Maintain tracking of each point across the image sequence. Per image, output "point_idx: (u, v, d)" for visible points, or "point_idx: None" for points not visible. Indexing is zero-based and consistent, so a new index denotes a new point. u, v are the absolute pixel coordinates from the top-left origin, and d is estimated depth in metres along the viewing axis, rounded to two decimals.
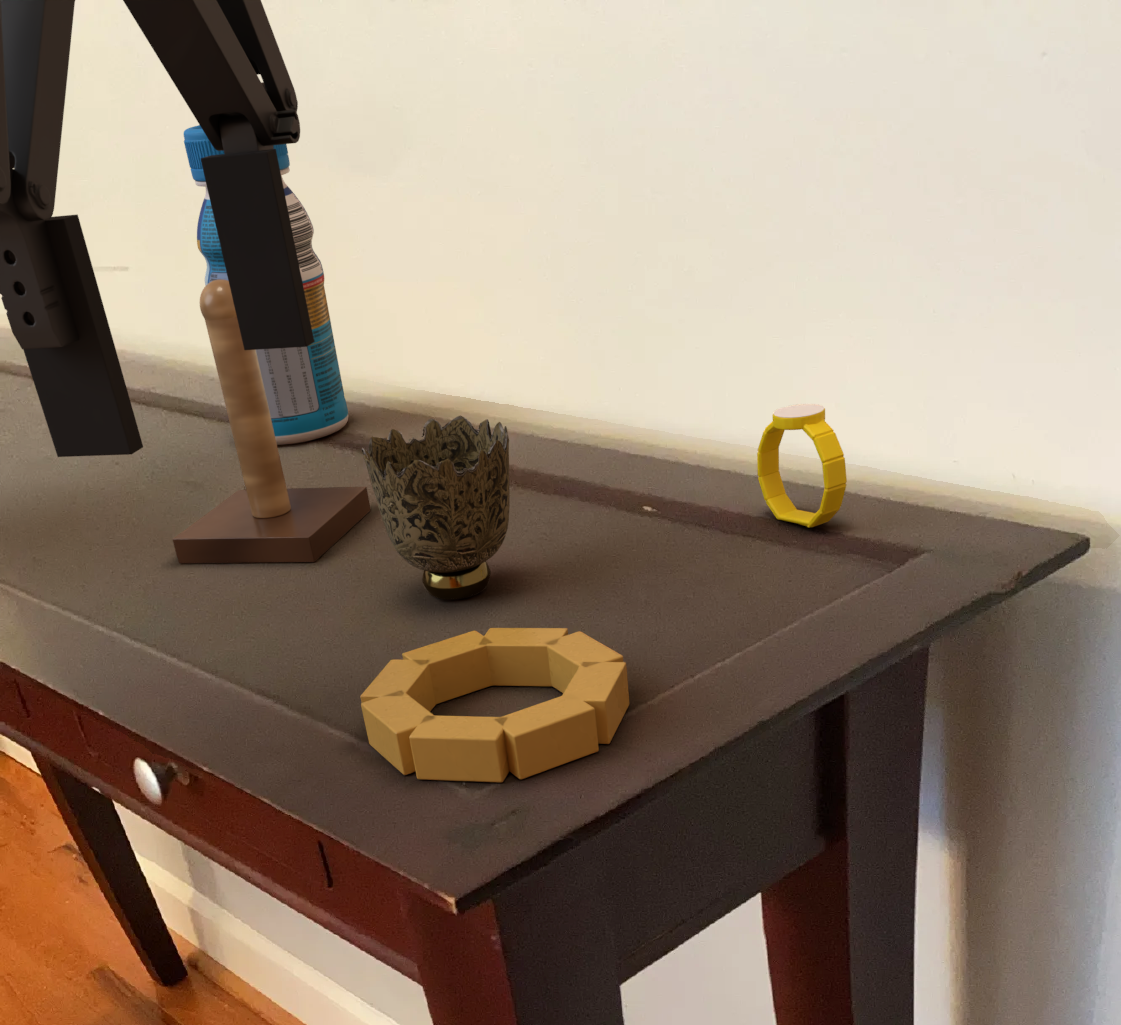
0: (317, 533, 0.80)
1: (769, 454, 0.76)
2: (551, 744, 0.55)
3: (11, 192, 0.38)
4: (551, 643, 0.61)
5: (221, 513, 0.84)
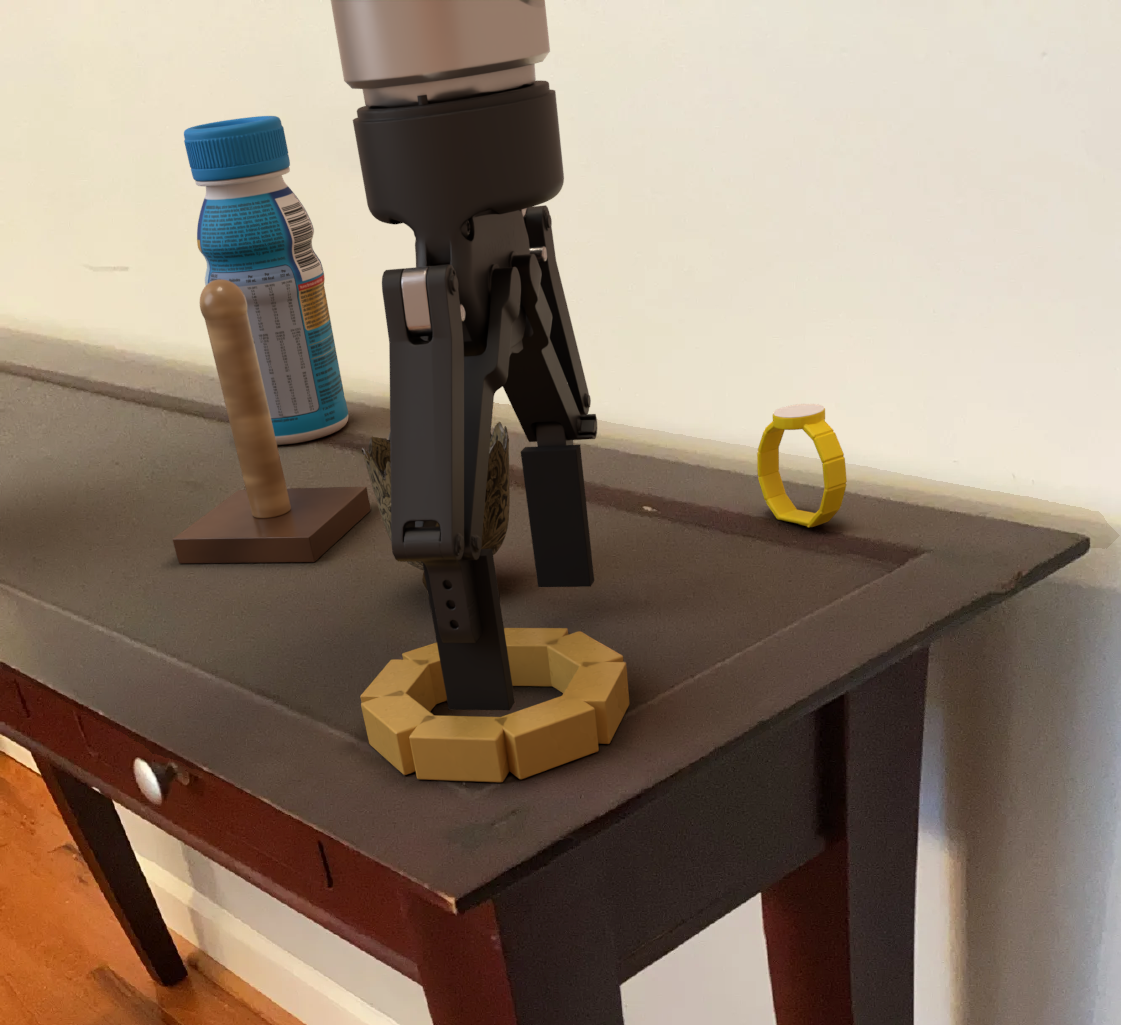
0: (317, 533, 0.80)
1: (769, 454, 0.76)
2: (551, 744, 0.55)
3: None
4: (551, 643, 0.61)
5: (221, 513, 0.84)
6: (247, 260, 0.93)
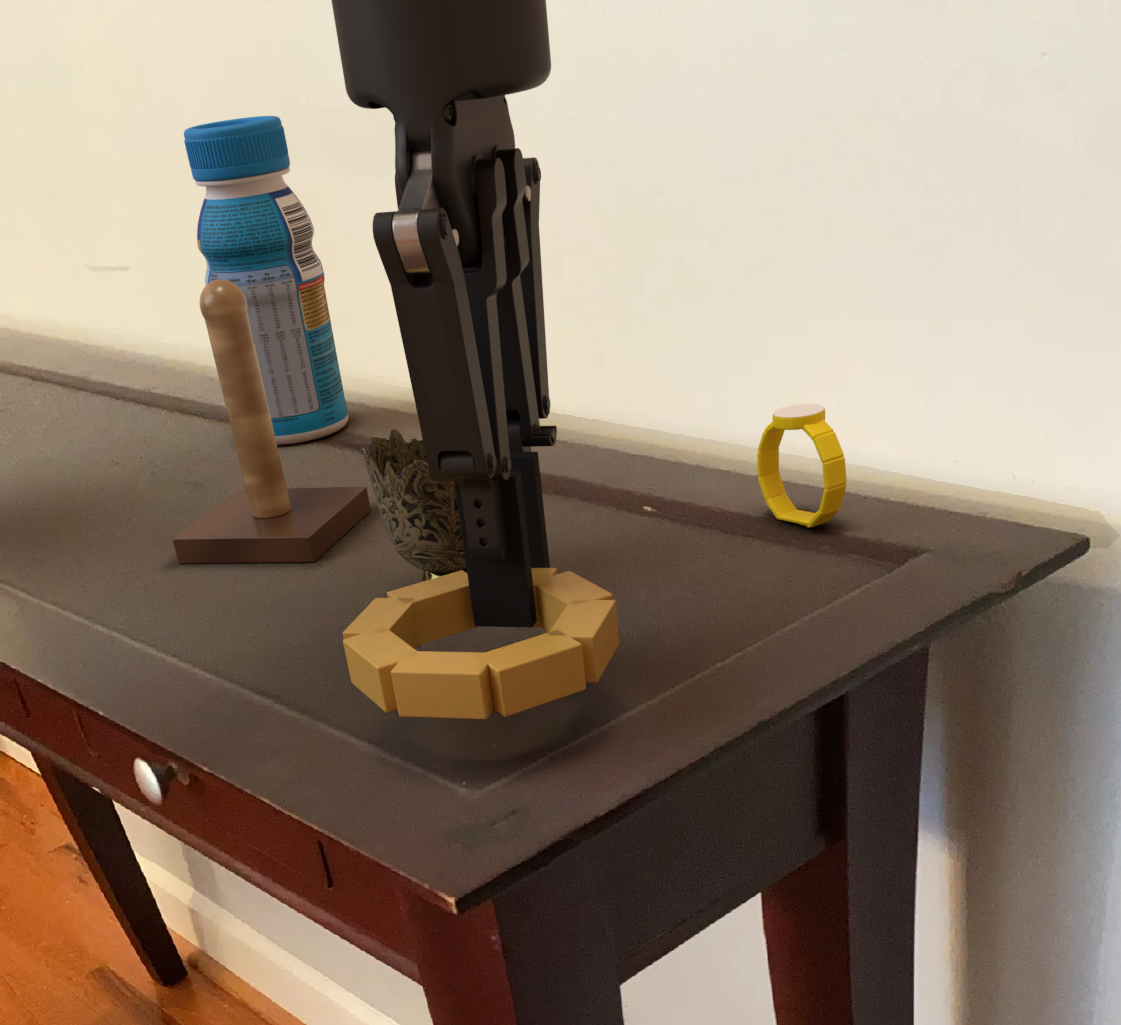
0: (317, 533, 0.80)
1: (769, 454, 0.76)
2: (537, 680, 0.54)
3: None
4: (540, 582, 0.60)
5: (221, 513, 0.84)
6: (247, 260, 0.93)
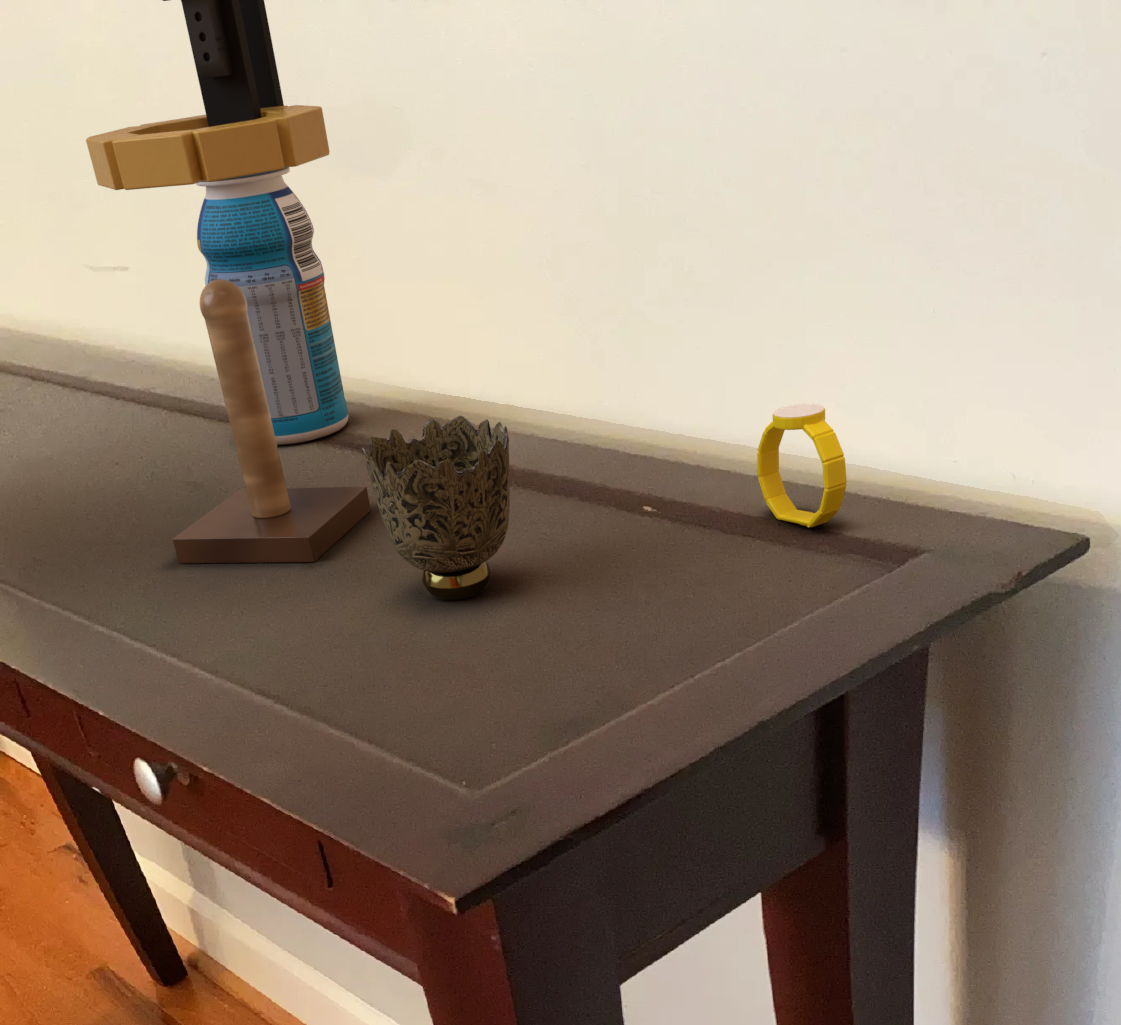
0: (317, 533, 0.80)
1: (769, 454, 0.76)
2: (236, 149, 0.63)
3: None
4: (267, 109, 0.69)
5: (221, 513, 0.84)
6: (247, 260, 0.93)
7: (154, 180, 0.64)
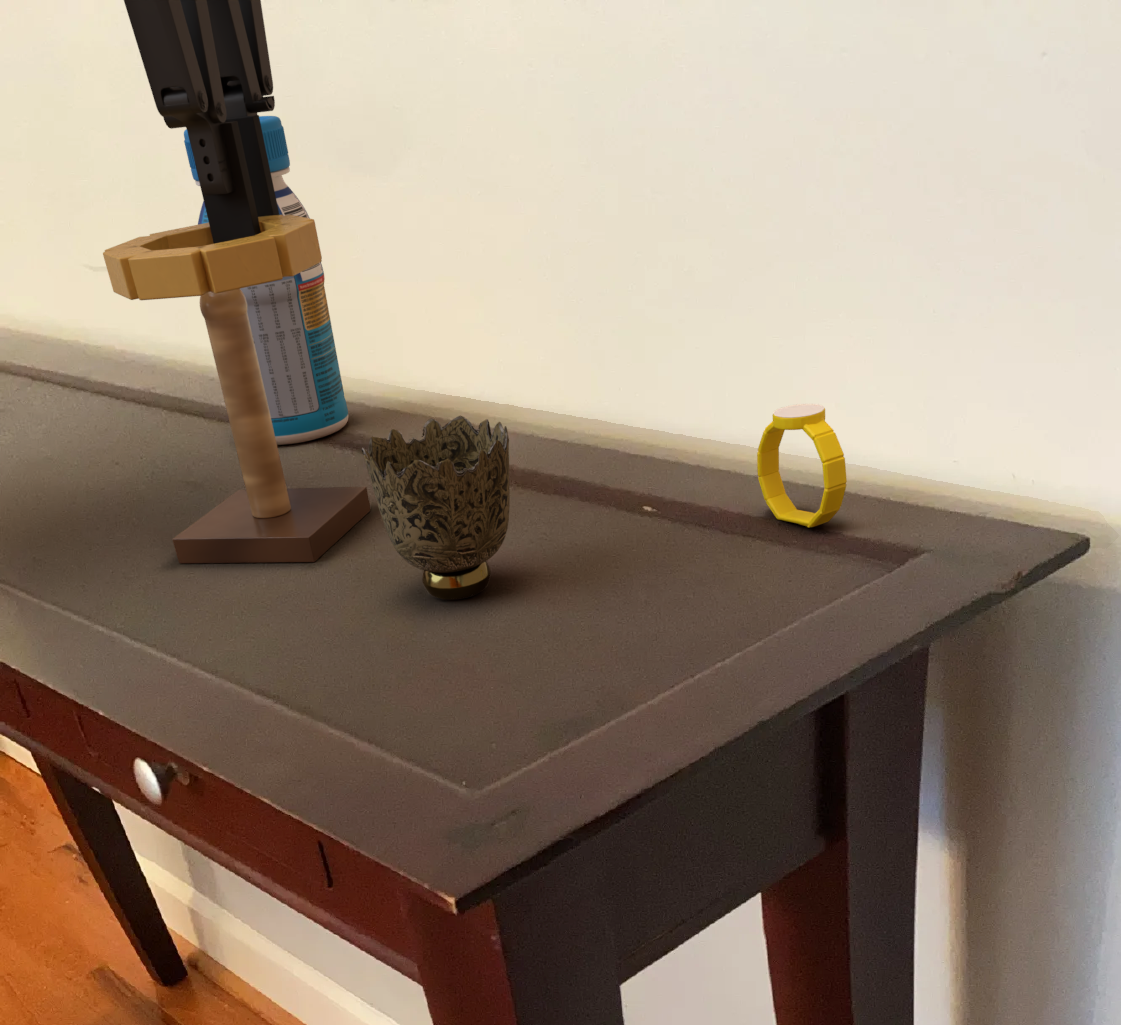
0: (317, 533, 0.80)
1: (769, 454, 0.76)
2: (239, 264, 0.71)
3: (208, 115, 0.72)
4: (265, 220, 0.76)
5: (221, 513, 0.84)
6: None
7: (166, 292, 0.71)
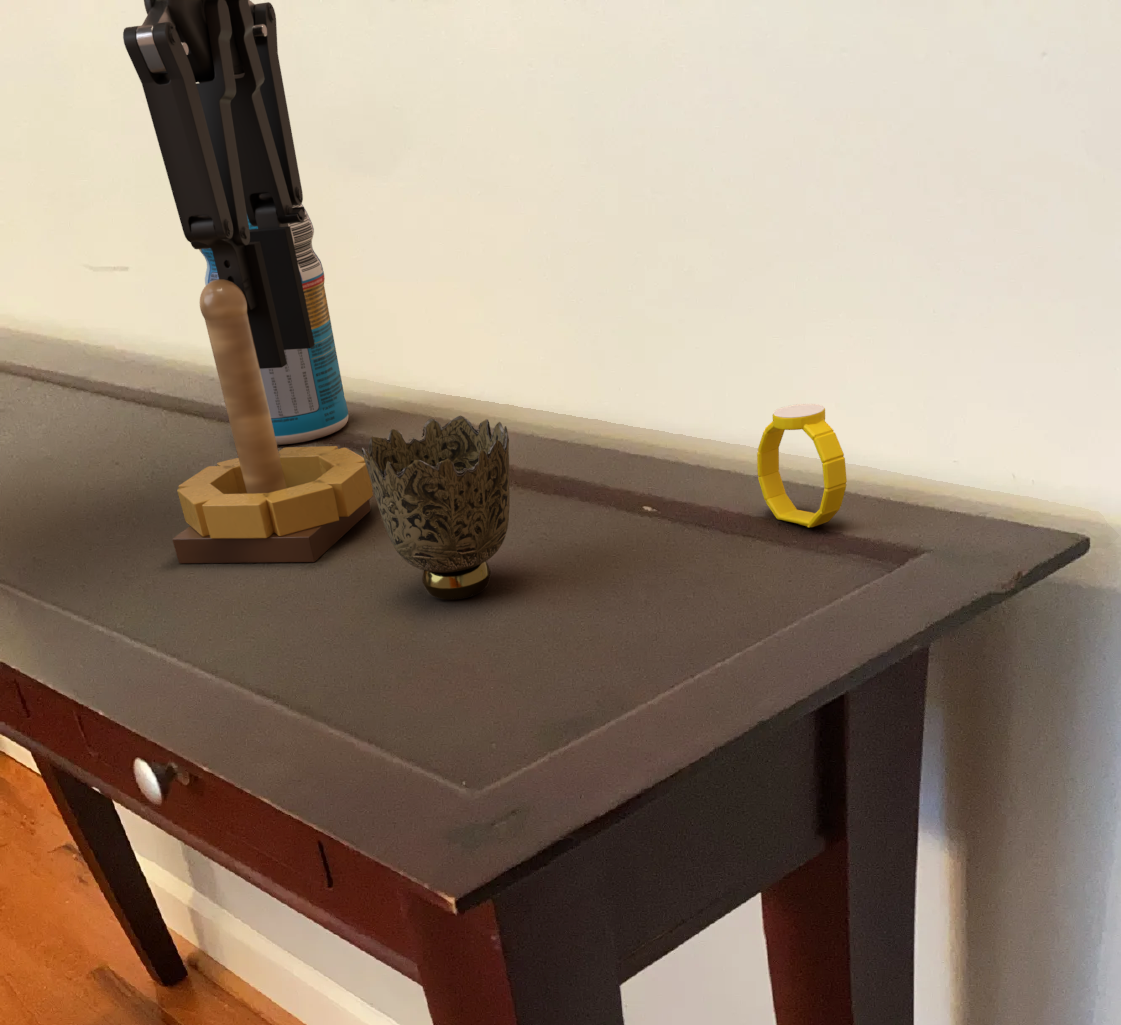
0: (317, 533, 0.80)
1: (769, 454, 0.76)
2: (301, 511, 0.79)
3: (232, 238, 0.75)
4: (322, 454, 0.85)
5: None
6: None
7: (235, 534, 0.79)
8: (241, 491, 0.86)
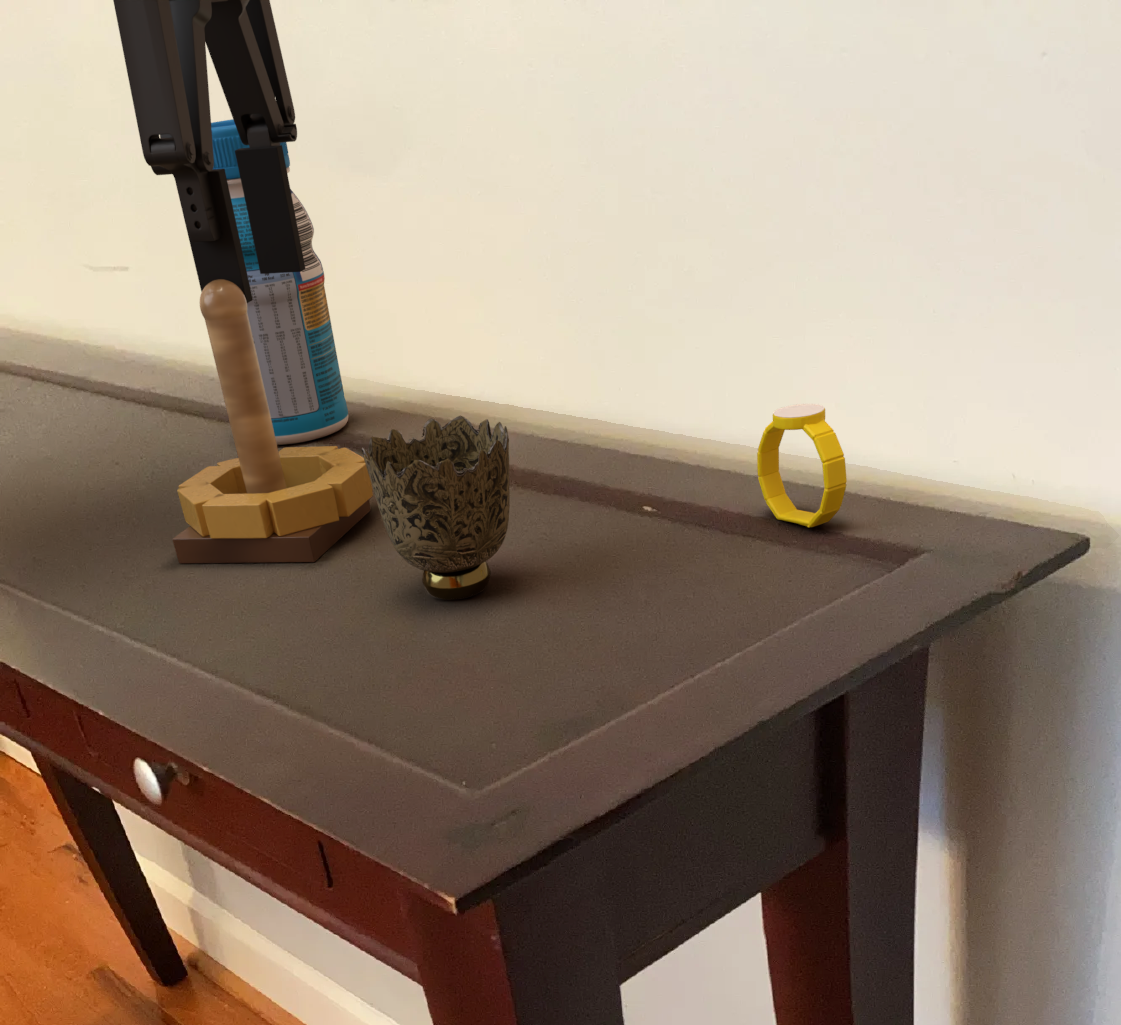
0: (317, 533, 0.80)
1: (769, 454, 0.76)
2: (301, 511, 0.79)
3: (194, 161, 0.72)
4: (322, 454, 0.85)
5: None
6: (247, 260, 0.93)
7: (235, 534, 0.79)
8: (241, 491, 0.86)
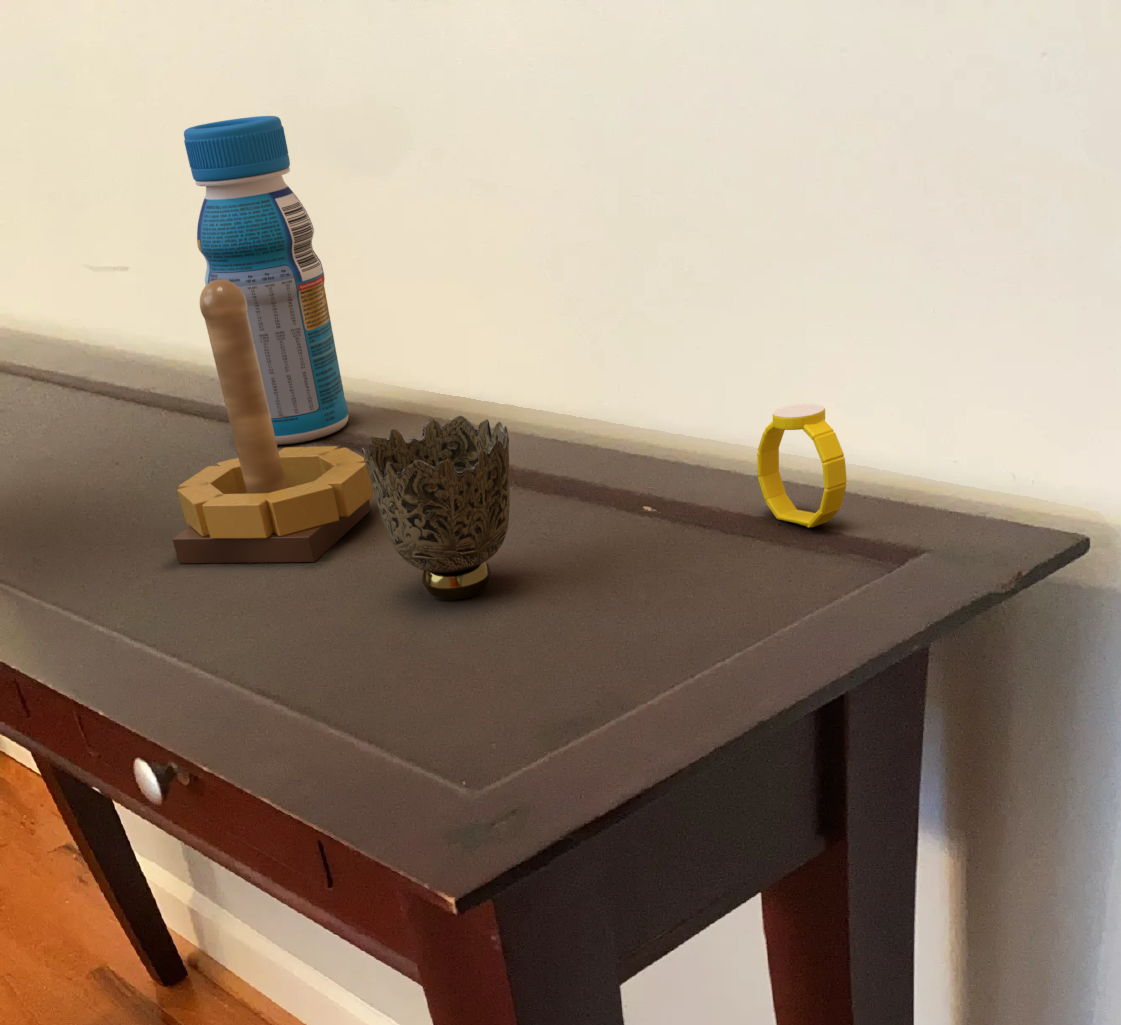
0: (317, 533, 0.80)
1: (769, 454, 0.76)
2: (301, 511, 0.79)
3: None
4: (322, 454, 0.85)
5: None
6: (247, 260, 0.93)
7: (235, 534, 0.79)
8: (241, 491, 0.86)
